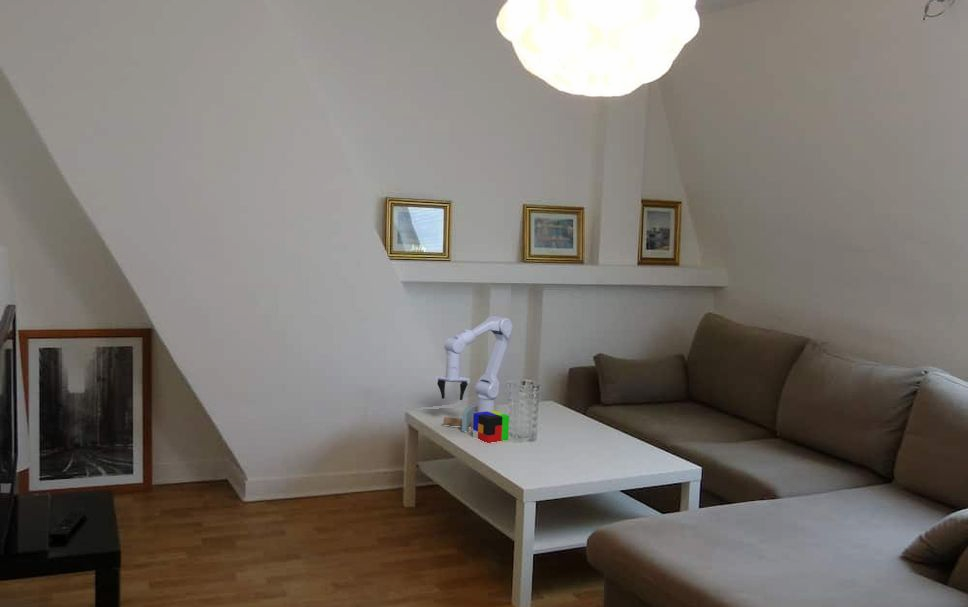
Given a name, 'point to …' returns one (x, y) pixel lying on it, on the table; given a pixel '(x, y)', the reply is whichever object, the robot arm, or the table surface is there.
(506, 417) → the puzzle toy
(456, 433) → the table surface
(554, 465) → the table surface
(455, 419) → the walnut slotted plate
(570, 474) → the table surface
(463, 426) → the teal slotted plate
